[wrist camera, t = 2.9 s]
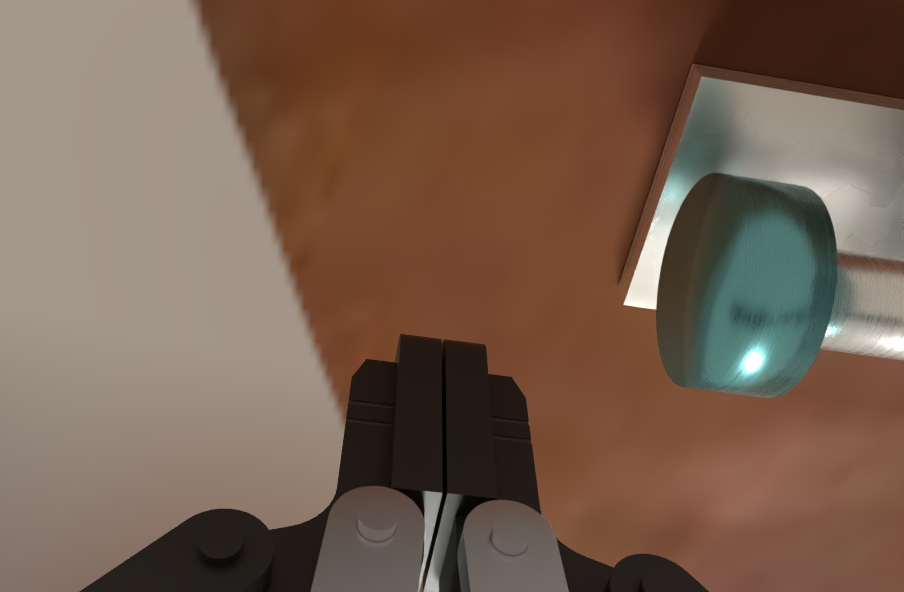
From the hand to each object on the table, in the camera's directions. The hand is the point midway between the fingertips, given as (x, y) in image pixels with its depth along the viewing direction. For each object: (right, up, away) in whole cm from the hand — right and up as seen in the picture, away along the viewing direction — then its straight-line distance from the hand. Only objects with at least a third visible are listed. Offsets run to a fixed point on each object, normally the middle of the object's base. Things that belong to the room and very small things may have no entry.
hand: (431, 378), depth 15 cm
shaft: (+13, +2, +8) cm, 15 cm away
